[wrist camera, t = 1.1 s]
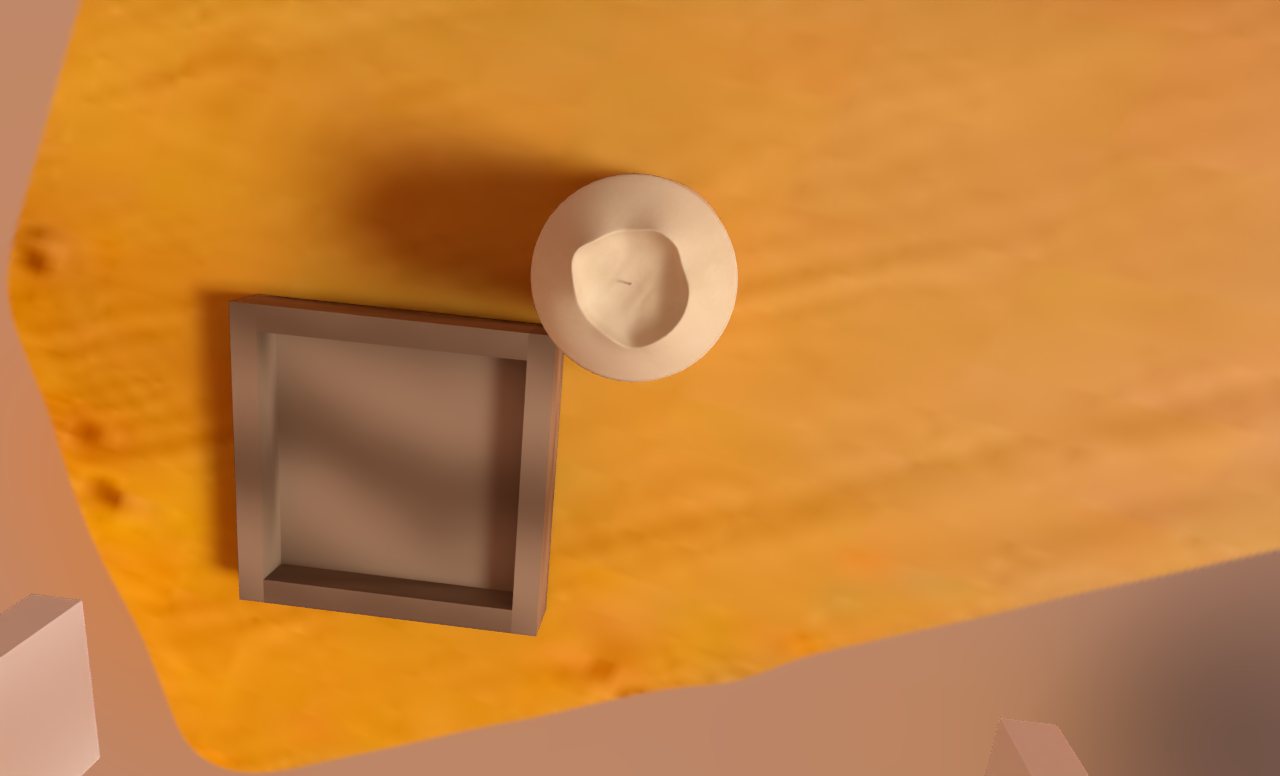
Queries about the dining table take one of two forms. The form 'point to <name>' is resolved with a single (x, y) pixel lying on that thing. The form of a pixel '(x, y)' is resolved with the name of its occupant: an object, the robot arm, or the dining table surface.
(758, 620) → the dining table surface
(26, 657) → the robot arm
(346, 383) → the tray
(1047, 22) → the dining table surface
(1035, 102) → the dining table surface
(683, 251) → the candle
